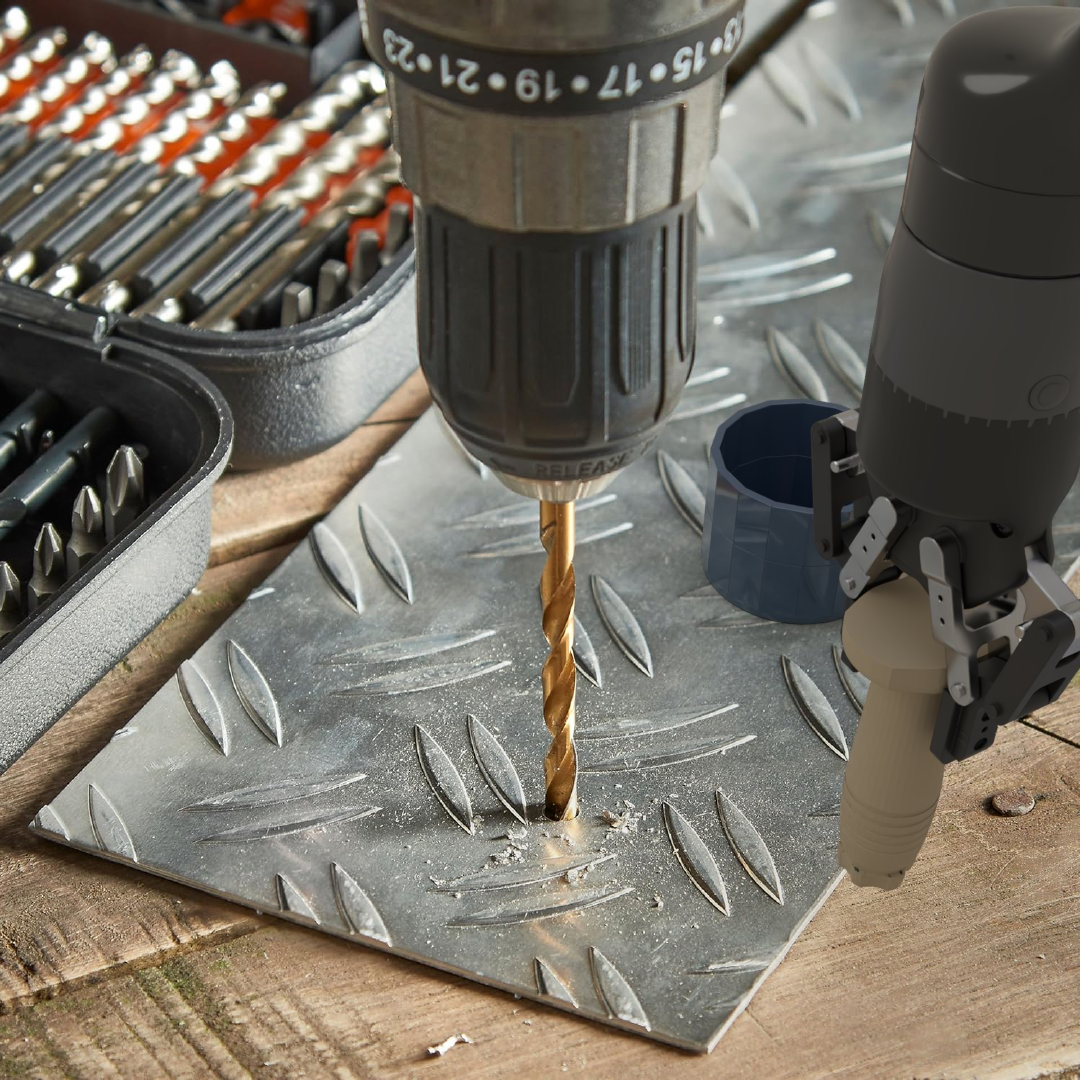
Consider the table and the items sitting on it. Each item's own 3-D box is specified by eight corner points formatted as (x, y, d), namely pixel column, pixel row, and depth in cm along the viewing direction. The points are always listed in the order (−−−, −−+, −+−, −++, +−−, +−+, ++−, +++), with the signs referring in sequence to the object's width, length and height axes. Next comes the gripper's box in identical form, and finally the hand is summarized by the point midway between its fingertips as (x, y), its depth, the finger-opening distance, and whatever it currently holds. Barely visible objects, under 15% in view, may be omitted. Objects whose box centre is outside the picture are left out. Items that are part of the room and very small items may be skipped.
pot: (721, 493, 94) (732, 385, 89) (891, 524, 92) (913, 416, 87) (684, 603, 87) (694, 492, 82) (869, 640, 84) (891, 528, 79)
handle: (782, 848, 69) (822, 602, 59) (905, 804, 70) (963, 559, 61) (839, 932, 65) (891, 686, 55) (966, 883, 67) (1038, 638, 57)
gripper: (1243, 427, 47) (1110, 792, 58) (936, 222, 56) (873, 569, 67) (1055, 502, 44) (953, 870, 55) (767, 273, 53) (729, 626, 64)
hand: (909, 703), depth 61 cm, fingers closed on handle, 5 cm apart
